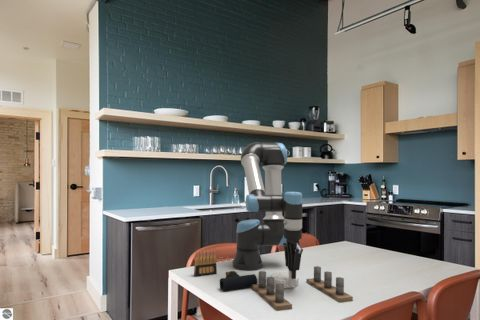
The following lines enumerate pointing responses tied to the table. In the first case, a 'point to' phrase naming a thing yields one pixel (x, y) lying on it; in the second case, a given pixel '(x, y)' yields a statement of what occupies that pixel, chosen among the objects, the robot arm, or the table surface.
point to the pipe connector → (237, 281)
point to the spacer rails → (278, 298)
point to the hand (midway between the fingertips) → (292, 285)
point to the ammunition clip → (205, 264)
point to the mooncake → (283, 279)
